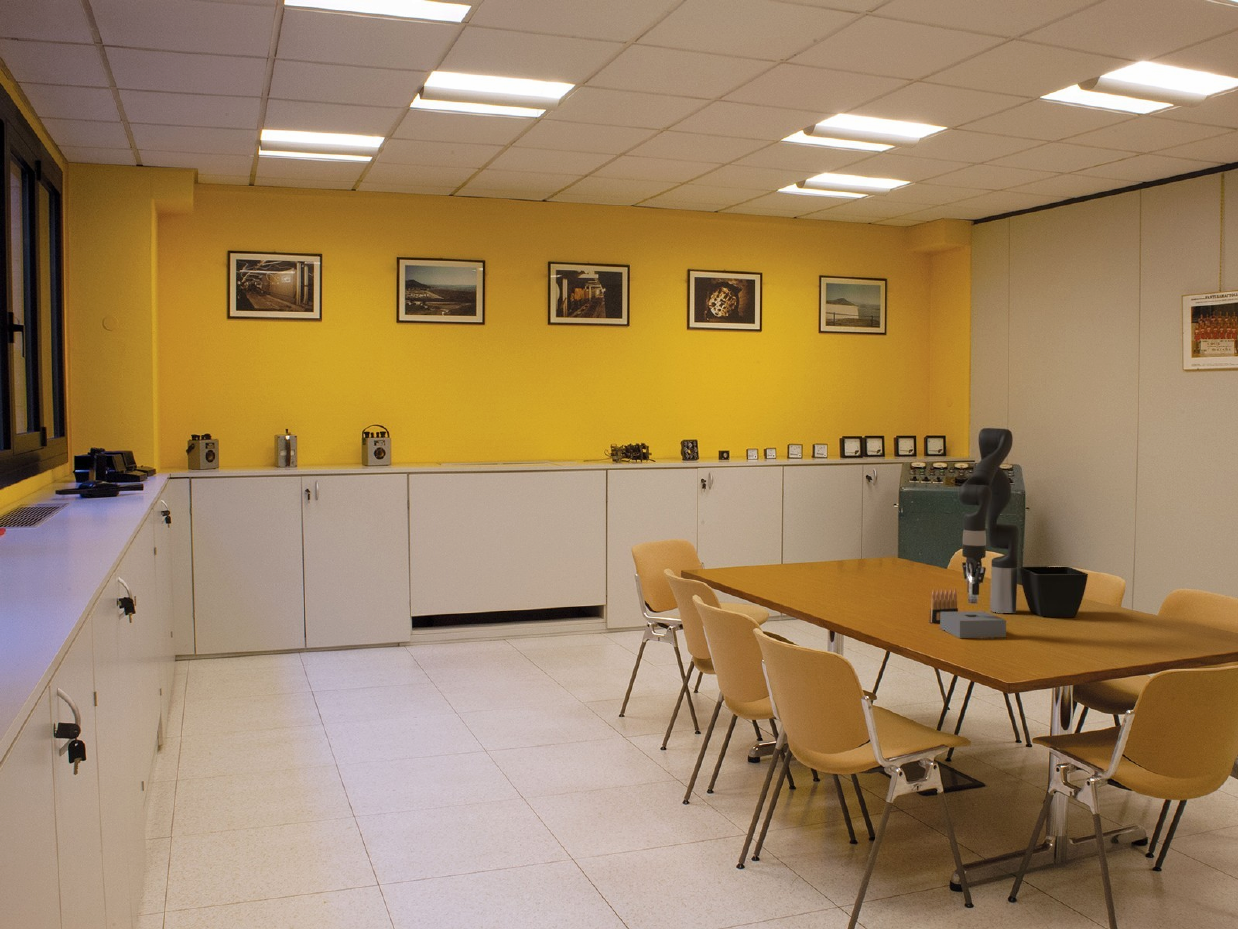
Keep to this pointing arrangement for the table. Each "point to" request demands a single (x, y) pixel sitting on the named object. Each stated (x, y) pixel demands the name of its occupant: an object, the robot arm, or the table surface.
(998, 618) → the socket block
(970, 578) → the metal pin
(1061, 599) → the flower pot
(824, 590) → the table surface
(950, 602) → the ammunition clip
